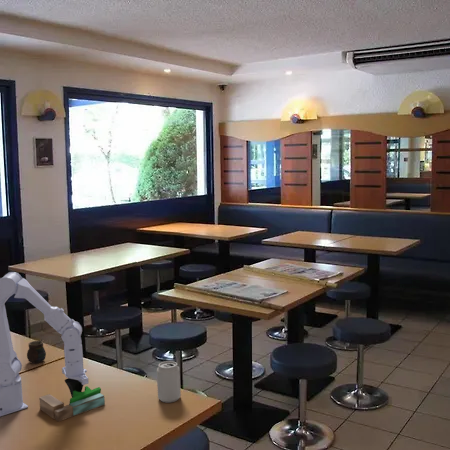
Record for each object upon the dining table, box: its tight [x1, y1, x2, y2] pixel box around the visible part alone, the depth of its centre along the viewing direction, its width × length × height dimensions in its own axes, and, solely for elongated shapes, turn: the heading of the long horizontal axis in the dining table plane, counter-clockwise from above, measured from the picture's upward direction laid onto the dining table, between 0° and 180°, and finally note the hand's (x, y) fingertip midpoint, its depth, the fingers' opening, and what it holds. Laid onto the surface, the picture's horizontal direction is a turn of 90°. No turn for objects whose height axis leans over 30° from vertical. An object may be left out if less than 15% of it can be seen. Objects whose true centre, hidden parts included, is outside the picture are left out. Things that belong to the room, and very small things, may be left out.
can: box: [156, 360, 182, 404], centre depth 180 cm, size 8×8×12 cm
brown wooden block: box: [39, 393, 65, 420], centre depth 173 cm, size 4×10×4 cm, turn 42°
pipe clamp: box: [69, 385, 102, 404], centre depth 178 cm, size 11×4×5 cm, turn 140°
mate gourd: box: [26, 339, 47, 365], centre depth 219 cm, size 7×8×10 cm
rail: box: [54, 393, 106, 422], centre depth 173 cm, size 16×3×3 cm, turn 132°
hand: (76, 399), depth 180 cm, fingers closed
